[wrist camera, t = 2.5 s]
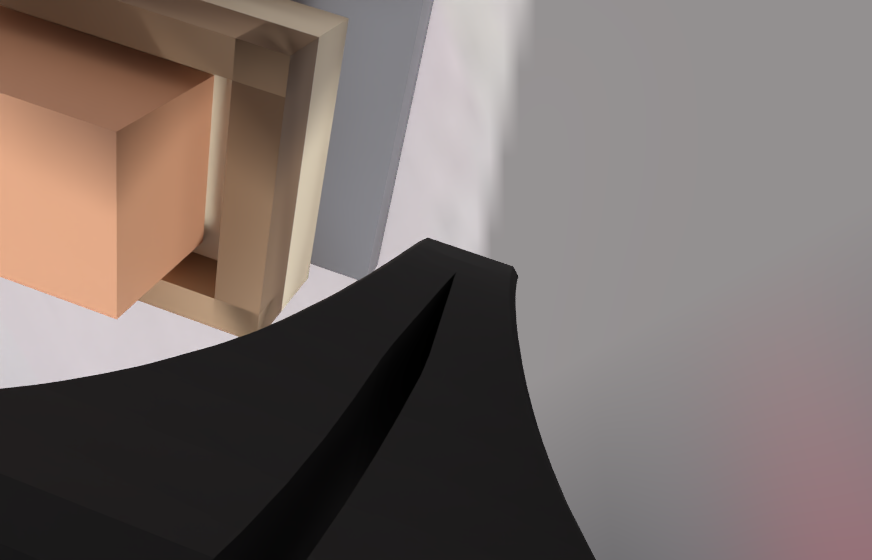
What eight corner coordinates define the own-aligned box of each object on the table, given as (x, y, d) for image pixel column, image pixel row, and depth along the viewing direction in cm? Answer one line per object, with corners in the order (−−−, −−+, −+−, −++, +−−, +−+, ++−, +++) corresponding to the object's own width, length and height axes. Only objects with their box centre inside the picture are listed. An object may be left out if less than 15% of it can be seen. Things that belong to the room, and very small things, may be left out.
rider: (214, 75, 12) (116, 132, 10) (203, 240, 14) (116, 319, 12) (-19, -1, 13) (-159, 38, 11) (-3, 169, 14) (-122, 232, 12)
